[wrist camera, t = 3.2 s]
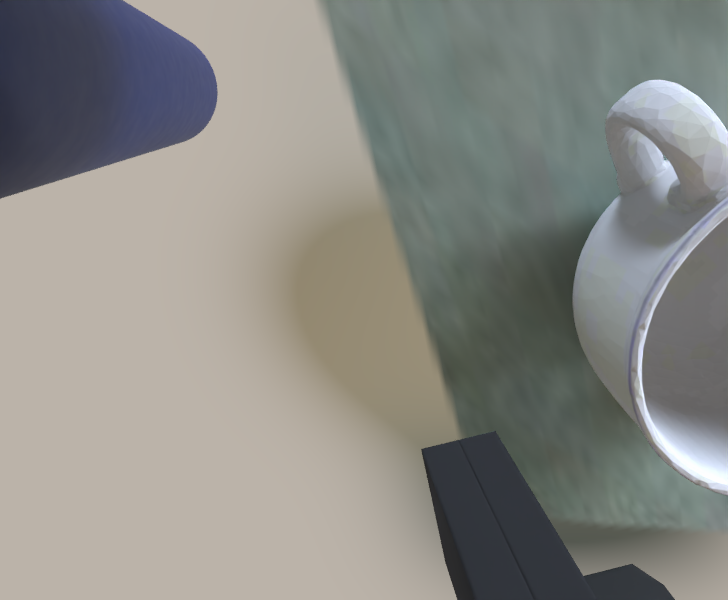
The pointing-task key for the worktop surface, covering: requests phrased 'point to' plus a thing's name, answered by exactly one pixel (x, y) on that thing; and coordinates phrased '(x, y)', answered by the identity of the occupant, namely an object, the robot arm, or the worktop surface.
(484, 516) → the robot arm
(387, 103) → the worktop surface
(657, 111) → the teacup
